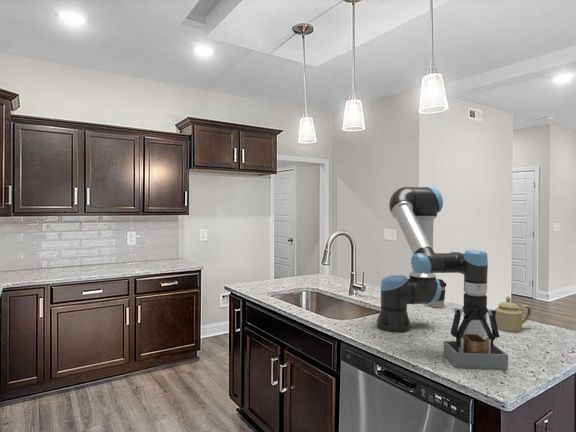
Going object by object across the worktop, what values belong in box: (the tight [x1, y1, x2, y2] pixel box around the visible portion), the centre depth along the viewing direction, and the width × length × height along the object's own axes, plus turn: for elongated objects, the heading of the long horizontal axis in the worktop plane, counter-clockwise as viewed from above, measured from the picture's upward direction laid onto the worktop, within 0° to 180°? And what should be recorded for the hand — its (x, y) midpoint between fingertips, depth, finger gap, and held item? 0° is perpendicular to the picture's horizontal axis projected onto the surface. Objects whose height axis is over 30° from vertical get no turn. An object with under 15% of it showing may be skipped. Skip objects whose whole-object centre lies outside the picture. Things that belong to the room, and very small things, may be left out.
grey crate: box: [443, 340, 509, 370], centre depth 138 cm, size 17×12×5 cm
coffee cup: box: [429, 278, 447, 309], centre depth 214 cm, size 10×10×15 cm
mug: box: [463, 312, 488, 337], centre depth 169 cm, size 12×8×11 cm
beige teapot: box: [494, 295, 532, 333], centre depth 176 cm, size 15×11×15 cm
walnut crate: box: [462, 333, 489, 354], centre depth 138 cm, size 6×9×8 cm, turn 176°
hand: (474, 356), depth 138 cm, fingers open, 9 cm apart
